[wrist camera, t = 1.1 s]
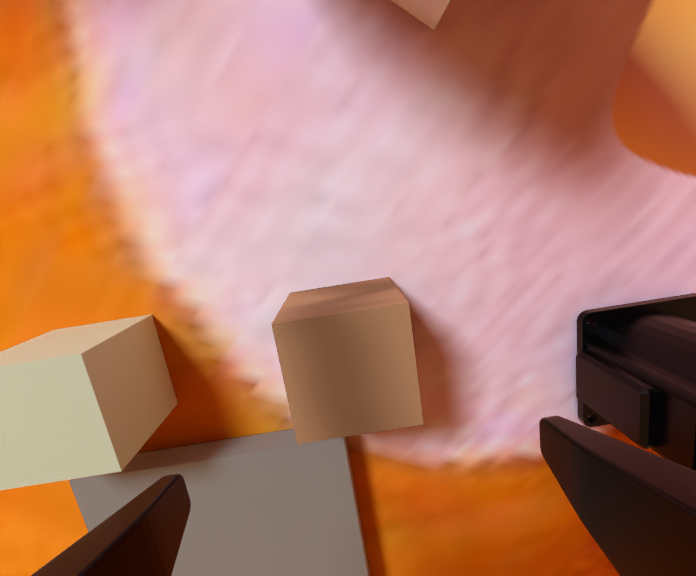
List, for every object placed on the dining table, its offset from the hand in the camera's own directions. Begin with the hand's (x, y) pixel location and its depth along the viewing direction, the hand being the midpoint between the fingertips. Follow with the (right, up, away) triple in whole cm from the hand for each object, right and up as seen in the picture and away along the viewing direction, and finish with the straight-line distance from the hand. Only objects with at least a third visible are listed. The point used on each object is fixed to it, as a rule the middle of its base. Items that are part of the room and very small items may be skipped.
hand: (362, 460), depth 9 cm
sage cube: (-12, 0, +9) cm, 15 cm away
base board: (-6, -11, +12) cm, 17 cm away
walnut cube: (0, +2, +9) cm, 10 cm away
